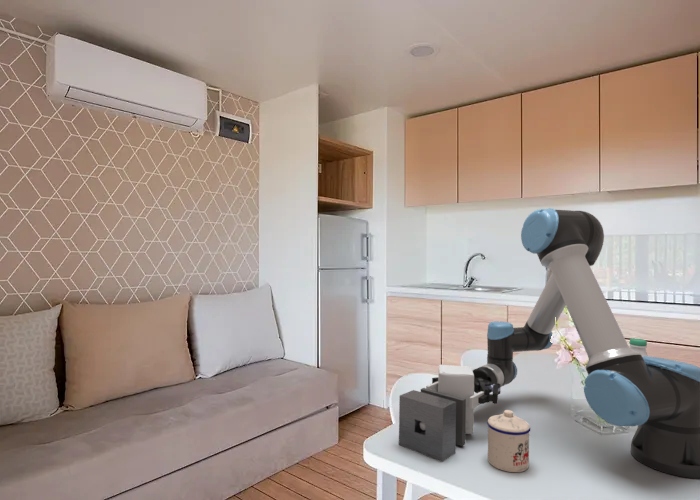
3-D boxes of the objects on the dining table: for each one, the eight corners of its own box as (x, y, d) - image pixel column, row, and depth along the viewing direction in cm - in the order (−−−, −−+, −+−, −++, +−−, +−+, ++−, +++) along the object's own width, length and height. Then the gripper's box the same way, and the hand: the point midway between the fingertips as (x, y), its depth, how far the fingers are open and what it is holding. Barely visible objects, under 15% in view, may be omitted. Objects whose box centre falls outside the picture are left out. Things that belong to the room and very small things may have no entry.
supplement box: (474, 435, 106) (475, 375, 106) (437, 431, 108) (438, 372, 108) (471, 421, 115) (472, 365, 115) (437, 417, 117) (438, 363, 117)
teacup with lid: (520, 478, 89) (521, 422, 89) (479, 463, 95) (480, 411, 95) (540, 458, 97) (541, 407, 97) (501, 446, 104) (502, 398, 104)
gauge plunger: (465, 444, 103) (465, 399, 103) (445, 457, 96) (445, 409, 96) (415, 427, 113) (415, 385, 113) (393, 438, 106) (394, 394, 106)
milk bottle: (656, 402, 136) (656, 340, 136) (646, 407, 132) (646, 343, 132) (629, 396, 142) (630, 336, 142) (619, 400, 138) (619, 338, 138)
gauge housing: (473, 440, 106) (473, 392, 106) (442, 461, 95) (442, 408, 95) (422, 423, 116) (423, 380, 116) (389, 441, 105) (389, 392, 105)
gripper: (527, 402, 117) (493, 425, 101) (449, 383, 133) (409, 399, 117) (527, 375, 117) (493, 393, 101) (449, 359, 133) (409, 372, 117)
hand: (448, 397), depth 109 cm, fingers closed on supplement box, 12 cm apart
